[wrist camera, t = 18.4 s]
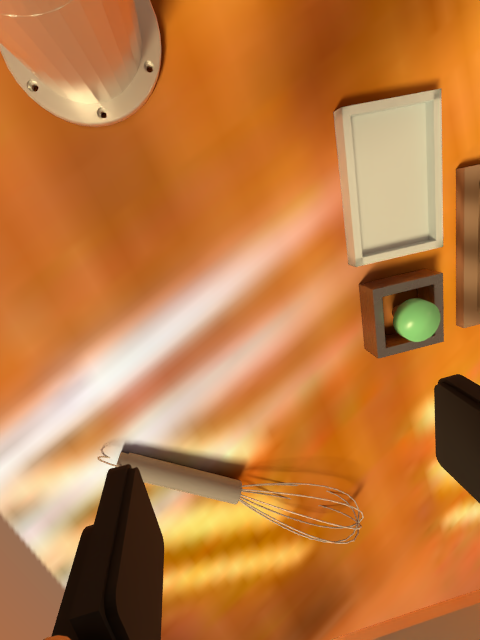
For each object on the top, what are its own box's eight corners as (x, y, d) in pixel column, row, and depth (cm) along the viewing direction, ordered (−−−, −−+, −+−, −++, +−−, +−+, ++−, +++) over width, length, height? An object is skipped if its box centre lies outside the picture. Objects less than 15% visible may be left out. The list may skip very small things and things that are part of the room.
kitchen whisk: (106, 428, 41) (95, 466, 35) (356, 483, 49) (381, 520, 43) (92, 472, 42) (78, 516, 36) (337, 518, 51) (359, 559, 45)
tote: (333, 112, 35) (341, 107, 33) (428, 94, 36) (441, 88, 34) (348, 264, 39) (356, 266, 38) (432, 245, 40) (443, 246, 39)
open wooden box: (358, 284, 40) (372, 289, 38) (424, 268, 41) (442, 273, 38) (364, 348, 43) (377, 358, 40) (426, 332, 44) (443, 341, 41)
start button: (379, 297, 40) (400, 306, 36) (415, 288, 41) (440, 297, 37) (382, 333, 42) (402, 346, 38) (417, 324, 42) (440, 336, 38)
